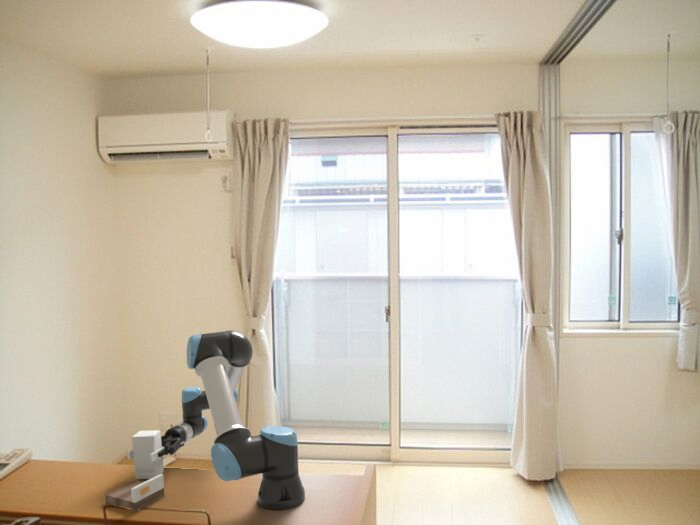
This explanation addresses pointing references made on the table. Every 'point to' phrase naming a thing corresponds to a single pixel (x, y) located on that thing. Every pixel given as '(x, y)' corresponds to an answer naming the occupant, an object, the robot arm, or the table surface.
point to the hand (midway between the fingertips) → (139, 456)
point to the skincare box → (147, 454)
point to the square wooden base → (137, 493)
